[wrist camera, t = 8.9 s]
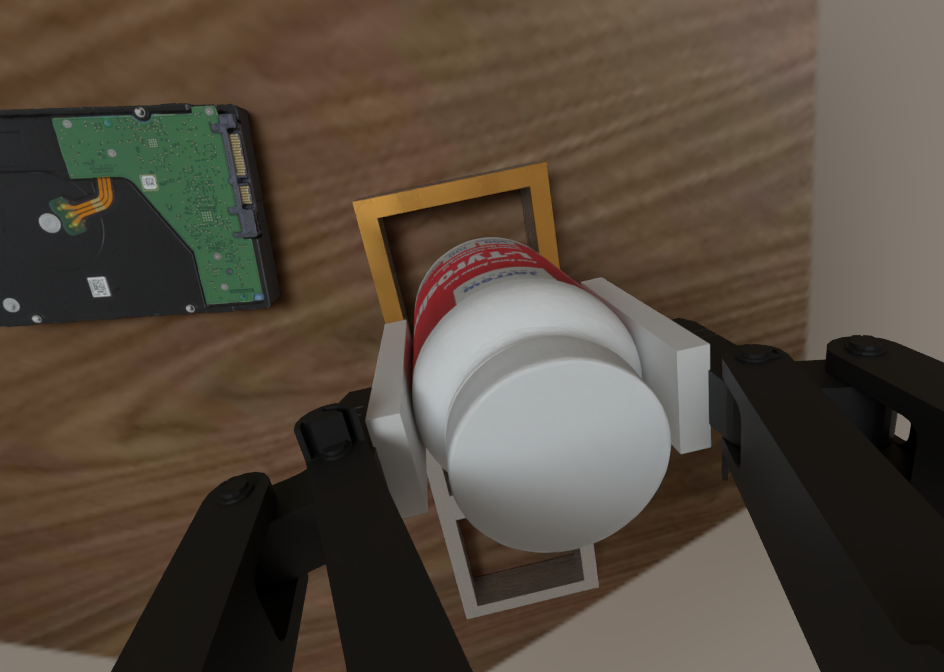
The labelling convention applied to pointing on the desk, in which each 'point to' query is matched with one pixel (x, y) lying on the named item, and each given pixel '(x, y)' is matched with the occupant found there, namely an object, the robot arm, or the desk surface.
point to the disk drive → (130, 214)
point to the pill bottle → (533, 399)
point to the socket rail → (541, 237)
